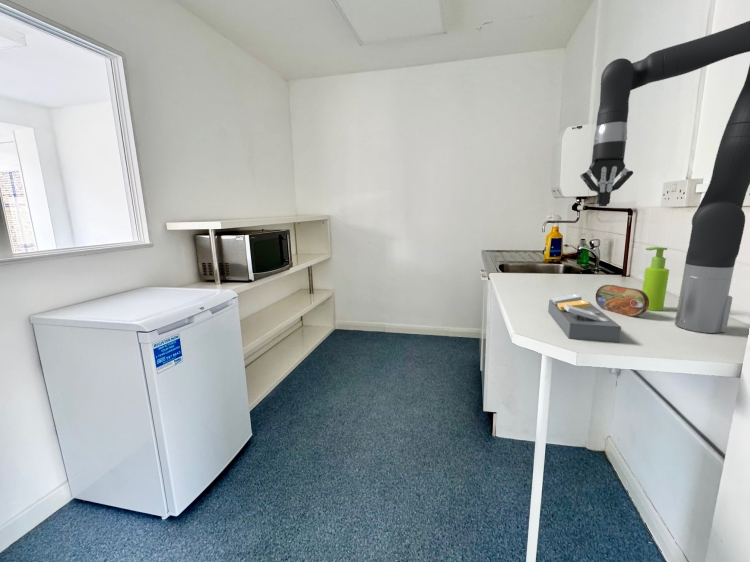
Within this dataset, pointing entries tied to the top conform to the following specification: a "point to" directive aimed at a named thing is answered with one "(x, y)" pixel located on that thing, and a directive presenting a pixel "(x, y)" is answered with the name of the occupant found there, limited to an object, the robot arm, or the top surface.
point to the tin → (622, 300)
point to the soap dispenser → (656, 280)
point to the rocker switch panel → (585, 324)
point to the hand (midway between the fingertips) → (602, 206)
